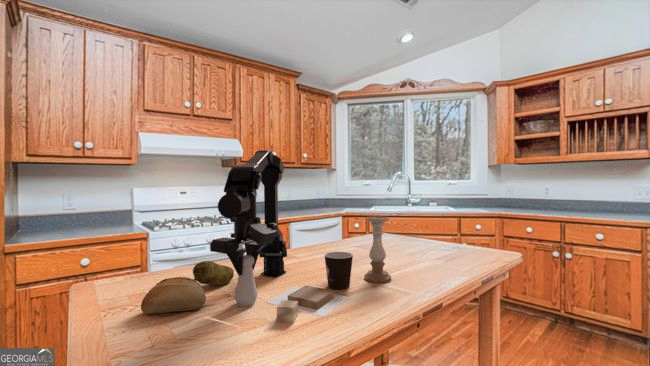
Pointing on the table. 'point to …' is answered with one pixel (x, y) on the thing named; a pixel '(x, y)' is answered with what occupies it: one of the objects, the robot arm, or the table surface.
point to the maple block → (287, 311)
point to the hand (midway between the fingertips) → (245, 272)
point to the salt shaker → (246, 284)
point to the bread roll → (174, 296)
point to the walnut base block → (311, 297)
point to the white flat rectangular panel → (321, 311)
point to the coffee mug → (338, 269)
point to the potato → (212, 273)
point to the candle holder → (377, 252)
